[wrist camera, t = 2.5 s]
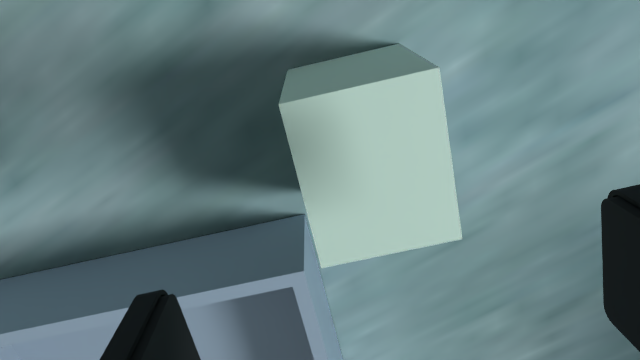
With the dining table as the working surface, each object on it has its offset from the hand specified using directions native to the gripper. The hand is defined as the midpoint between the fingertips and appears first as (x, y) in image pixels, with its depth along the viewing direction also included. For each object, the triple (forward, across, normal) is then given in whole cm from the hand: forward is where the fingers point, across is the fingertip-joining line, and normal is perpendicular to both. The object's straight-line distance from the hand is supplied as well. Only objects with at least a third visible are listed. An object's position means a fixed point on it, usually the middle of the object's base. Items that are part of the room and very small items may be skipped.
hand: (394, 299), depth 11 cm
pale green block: (+13, -1, -1) cm, 13 cm away
